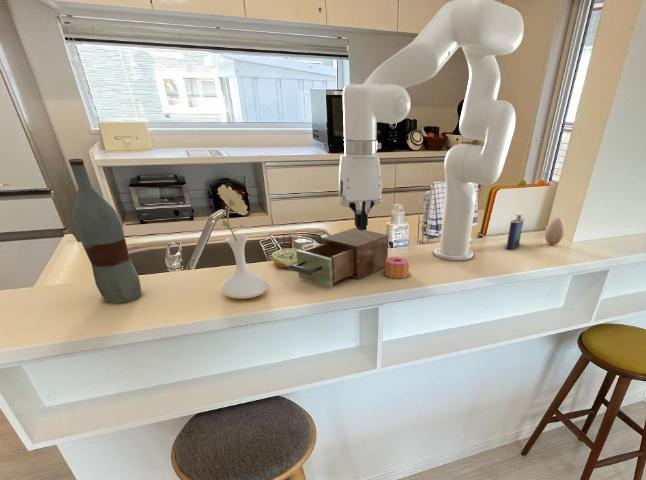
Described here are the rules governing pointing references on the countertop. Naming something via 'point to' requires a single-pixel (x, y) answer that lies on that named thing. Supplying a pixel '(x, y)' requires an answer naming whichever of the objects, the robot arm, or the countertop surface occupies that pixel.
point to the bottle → (103, 241)
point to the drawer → (325, 263)
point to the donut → (396, 267)
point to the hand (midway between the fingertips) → (361, 228)
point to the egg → (555, 231)
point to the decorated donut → (285, 257)
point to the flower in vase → (239, 254)
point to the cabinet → (363, 249)
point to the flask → (515, 233)
